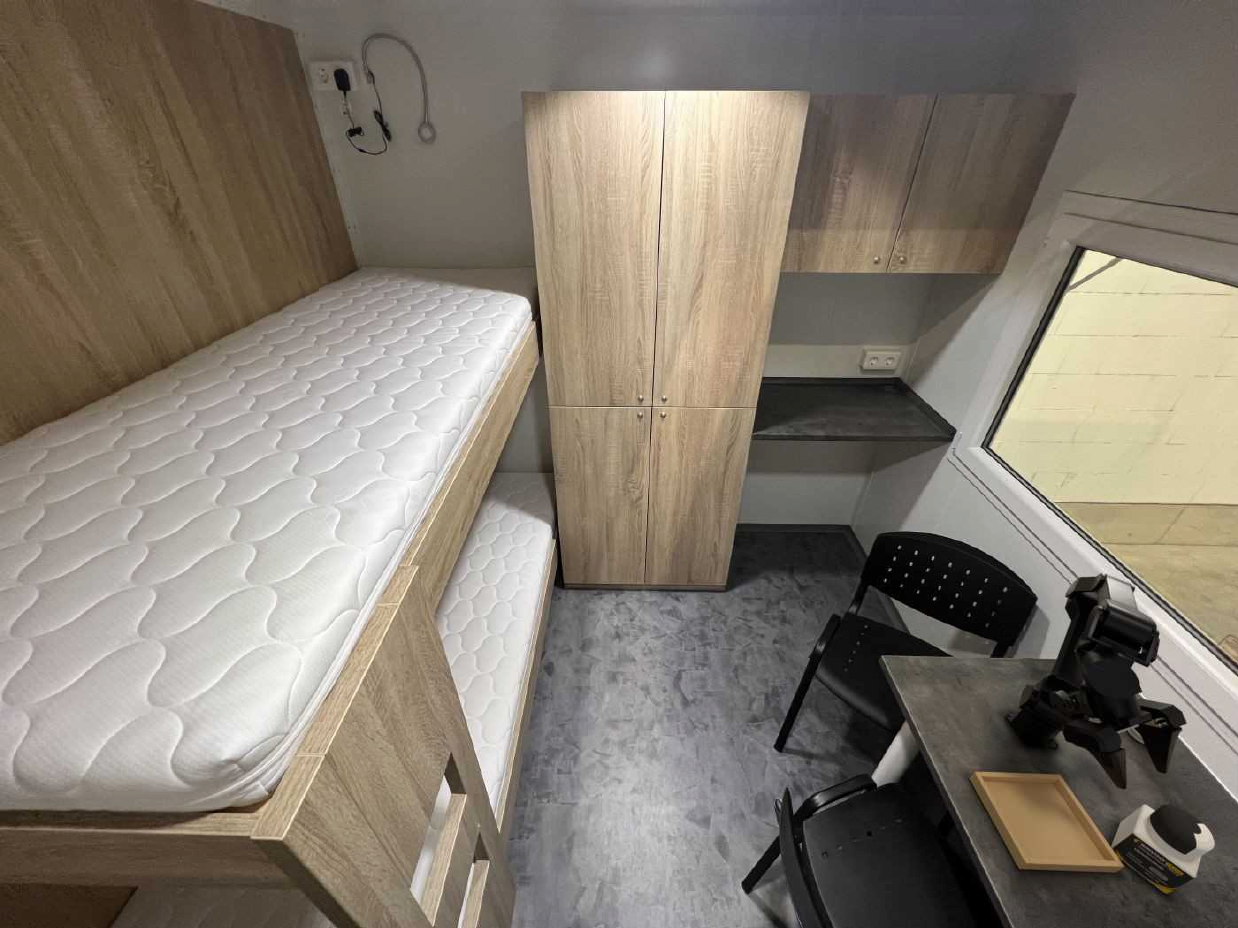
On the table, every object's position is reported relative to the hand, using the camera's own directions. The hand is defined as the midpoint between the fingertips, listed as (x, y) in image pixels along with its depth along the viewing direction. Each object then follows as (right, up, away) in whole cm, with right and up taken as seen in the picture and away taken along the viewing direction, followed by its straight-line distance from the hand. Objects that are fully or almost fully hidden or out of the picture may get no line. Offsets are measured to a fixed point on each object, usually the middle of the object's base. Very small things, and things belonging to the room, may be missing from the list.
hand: (1142, 780), depth 78 cm
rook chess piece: (+20, -4, +19) cm, 28 cm away
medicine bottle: (+2, -14, +2) cm, 14 cm away
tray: (-12, -11, +6) cm, 17 cm away
